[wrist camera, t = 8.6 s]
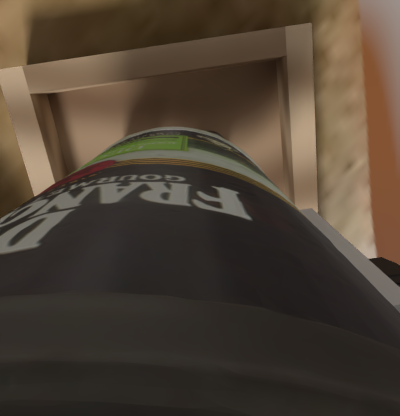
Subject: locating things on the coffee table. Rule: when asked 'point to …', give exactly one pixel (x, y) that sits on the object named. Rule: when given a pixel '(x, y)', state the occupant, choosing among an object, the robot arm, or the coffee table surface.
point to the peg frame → (174, 103)
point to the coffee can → (185, 295)
